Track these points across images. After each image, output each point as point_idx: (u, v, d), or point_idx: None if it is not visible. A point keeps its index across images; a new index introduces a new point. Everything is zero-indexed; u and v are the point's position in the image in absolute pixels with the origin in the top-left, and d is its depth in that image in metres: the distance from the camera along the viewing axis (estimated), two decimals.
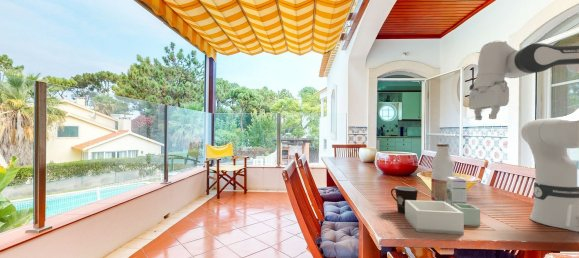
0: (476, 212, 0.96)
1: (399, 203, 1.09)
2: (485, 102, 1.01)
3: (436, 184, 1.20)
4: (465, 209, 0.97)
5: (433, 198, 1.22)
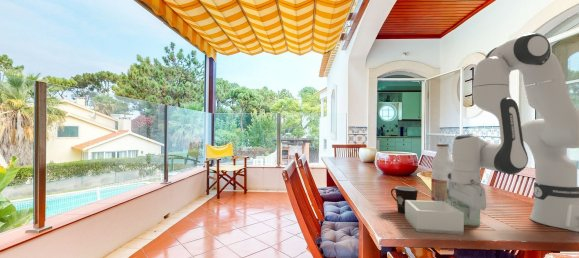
0: (476, 212, 0.96)
1: (399, 203, 1.09)
2: (463, 199, 0.97)
3: (436, 184, 1.20)
4: (465, 209, 0.97)
5: (433, 198, 1.22)
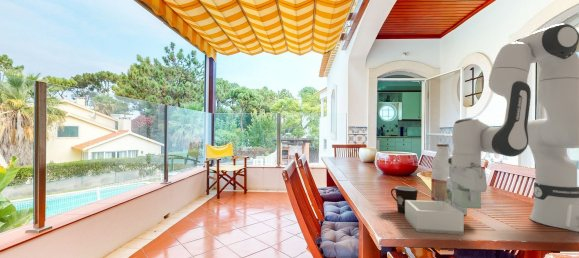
0: (477, 195, 0.96)
1: (399, 203, 1.09)
2: (464, 183, 0.98)
3: (436, 184, 1.20)
4: (466, 192, 0.97)
5: (433, 198, 1.22)
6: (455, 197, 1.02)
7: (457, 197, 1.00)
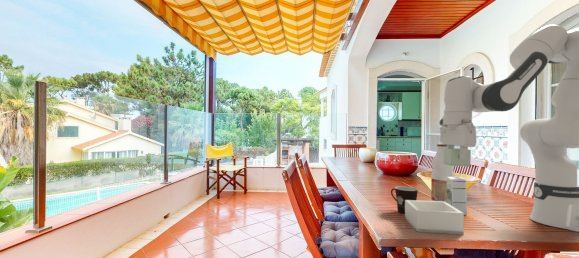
0: None
1: (399, 203, 1.09)
2: (454, 141, 0.97)
3: (436, 184, 1.20)
4: (455, 150, 0.96)
5: (433, 198, 1.22)
6: (445, 157, 1.01)
7: (446, 156, 1.00)
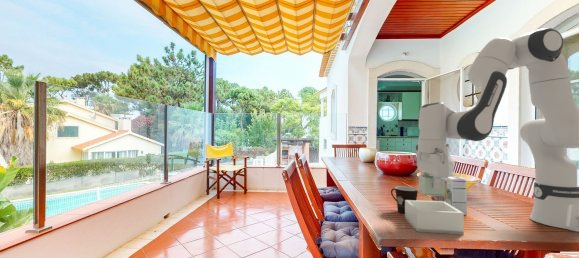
0: (441, 182, 0.92)
1: (399, 203, 1.09)
2: (428, 169, 0.94)
3: None
4: (429, 179, 0.93)
5: (433, 198, 1.22)
6: (420, 184, 0.98)
7: (421, 185, 0.97)
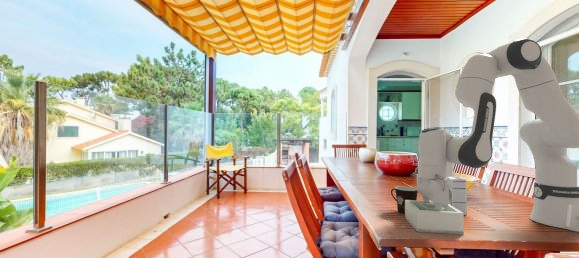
0: None
1: (399, 203, 1.09)
2: (429, 195, 0.94)
3: None
4: (430, 209, 0.93)
5: None
6: None
7: None
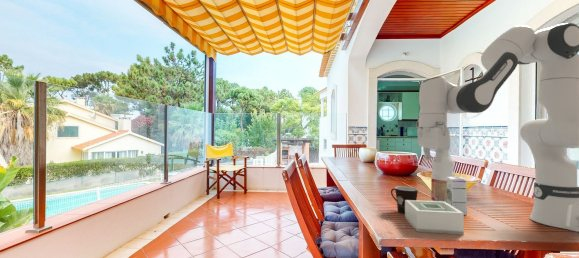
0: None
1: (399, 203, 1.09)
2: (429, 144, 0.94)
3: (436, 184, 1.20)
4: (430, 209, 0.93)
5: (433, 198, 1.22)
6: None
7: None
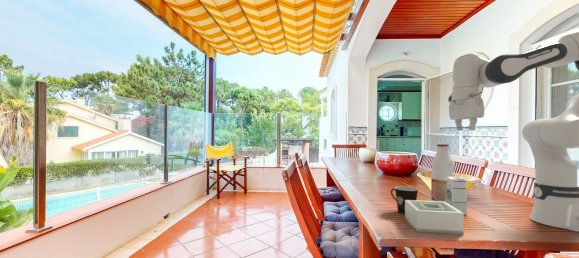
0: None
1: (399, 203, 1.09)
2: (463, 114, 1.04)
3: (436, 184, 1.20)
4: (430, 209, 0.93)
5: (433, 198, 1.22)
6: None
7: None
